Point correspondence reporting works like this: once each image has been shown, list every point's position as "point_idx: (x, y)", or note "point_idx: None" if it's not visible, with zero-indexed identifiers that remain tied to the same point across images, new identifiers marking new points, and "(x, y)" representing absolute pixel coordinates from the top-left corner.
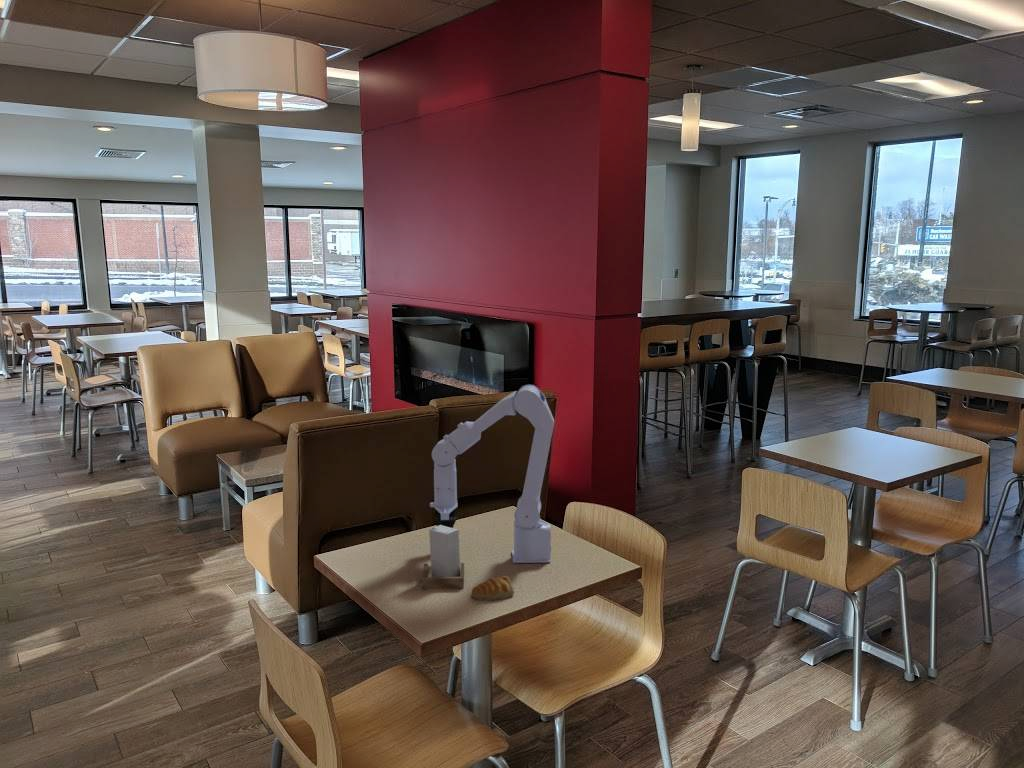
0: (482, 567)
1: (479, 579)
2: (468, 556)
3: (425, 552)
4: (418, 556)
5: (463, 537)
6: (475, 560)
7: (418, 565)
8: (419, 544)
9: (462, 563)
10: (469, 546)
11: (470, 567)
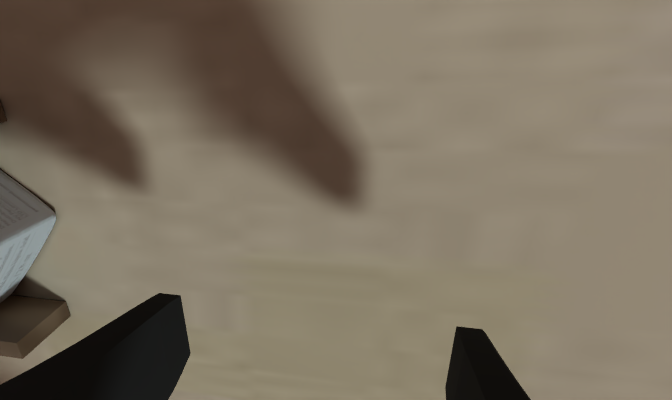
0: None
1: (18, 364)
2: (297, 360)
3: (393, 95)
4: (306, 35)
5: (658, 377)
6: (240, 382)
7: (124, 45)
8: (619, 28)
9: (12, 350)
10: None
11: None
